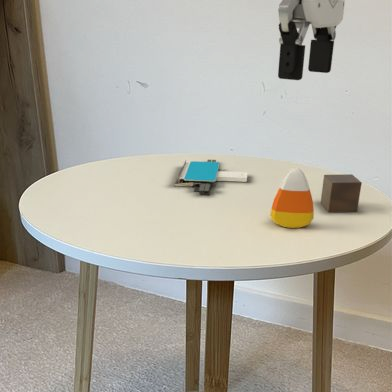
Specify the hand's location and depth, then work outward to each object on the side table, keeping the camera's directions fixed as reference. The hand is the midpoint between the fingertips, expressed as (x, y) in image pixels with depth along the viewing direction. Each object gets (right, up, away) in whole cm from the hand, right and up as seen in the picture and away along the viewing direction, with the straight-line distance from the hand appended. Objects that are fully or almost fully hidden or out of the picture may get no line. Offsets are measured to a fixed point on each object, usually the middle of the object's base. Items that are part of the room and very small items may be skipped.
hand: (305, 75), depth 81 cm
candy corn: (-1, -20, +3) cm, 20 cm away
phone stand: (-12, -8, +23) cm, 27 cm away
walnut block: (+7, -16, +10) cm, 20 cm away
